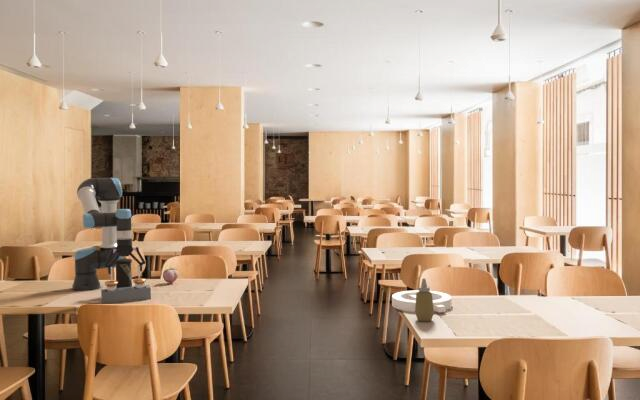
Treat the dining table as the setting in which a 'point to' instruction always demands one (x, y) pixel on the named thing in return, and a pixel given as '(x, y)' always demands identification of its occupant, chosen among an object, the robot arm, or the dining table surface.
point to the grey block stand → (125, 294)
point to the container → (123, 273)
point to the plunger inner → (111, 285)
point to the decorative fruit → (170, 275)
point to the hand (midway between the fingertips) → (125, 279)
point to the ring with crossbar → (408, 301)
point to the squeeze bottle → (424, 303)
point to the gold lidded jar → (139, 283)
